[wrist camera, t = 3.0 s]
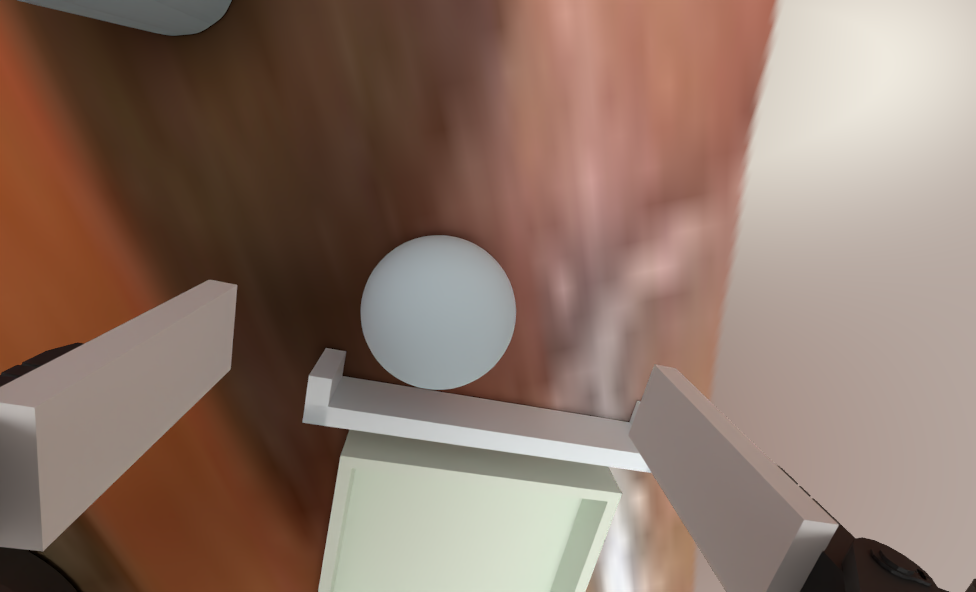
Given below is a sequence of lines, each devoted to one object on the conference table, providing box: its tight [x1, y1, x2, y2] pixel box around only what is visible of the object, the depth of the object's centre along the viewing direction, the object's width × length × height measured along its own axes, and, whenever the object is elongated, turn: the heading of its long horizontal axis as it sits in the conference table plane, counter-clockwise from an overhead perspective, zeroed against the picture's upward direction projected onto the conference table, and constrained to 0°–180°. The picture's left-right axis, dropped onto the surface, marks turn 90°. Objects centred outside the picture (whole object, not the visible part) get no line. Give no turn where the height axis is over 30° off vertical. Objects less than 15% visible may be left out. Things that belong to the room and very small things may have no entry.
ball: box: [361, 235, 516, 390], centre depth 19 cm, size 6×6×6 cm
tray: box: [318, 430, 622, 592], centre depth 25 cm, size 14×14×3 cm
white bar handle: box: [302, 348, 652, 473], centre depth 23 cm, size 18×2×3 cm, turn 77°
